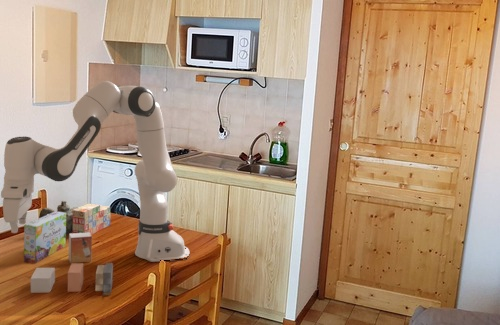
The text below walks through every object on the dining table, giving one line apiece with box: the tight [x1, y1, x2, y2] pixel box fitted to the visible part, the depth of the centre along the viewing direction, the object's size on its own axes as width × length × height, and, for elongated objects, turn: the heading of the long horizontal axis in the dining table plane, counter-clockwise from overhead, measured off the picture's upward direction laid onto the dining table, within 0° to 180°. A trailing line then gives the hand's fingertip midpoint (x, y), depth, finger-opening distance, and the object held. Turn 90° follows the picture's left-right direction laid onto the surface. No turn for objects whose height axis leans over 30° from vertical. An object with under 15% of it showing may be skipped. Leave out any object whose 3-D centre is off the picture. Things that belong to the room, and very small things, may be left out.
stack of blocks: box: [72, 203, 112, 235], centre depth 238 cm, size 21×6×12 cm, turn 163°
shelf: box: [94, 262, 114, 296], centre depth 177 cm, size 26×10×8 cm, turn 101°
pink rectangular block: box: [67, 263, 84, 293], centre depth 177 cm, size 4×8×7 cm, turn 11°
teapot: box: [38, 200, 79, 235], centre depth 232 cm, size 21×12×15 cm, turn 141°
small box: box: [68, 232, 93, 264], centre depth 202 cm, size 8×6×10 cm
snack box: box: [23, 210, 67, 264], centre depth 206 cm, size 21×6×15 cm, turn 168°
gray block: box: [30, 267, 56, 294], centre depth 175 cm, size 6×9×5 cm, turn 11°
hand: (18, 227), depth 170 cm, fingers open, 8 cm apart
